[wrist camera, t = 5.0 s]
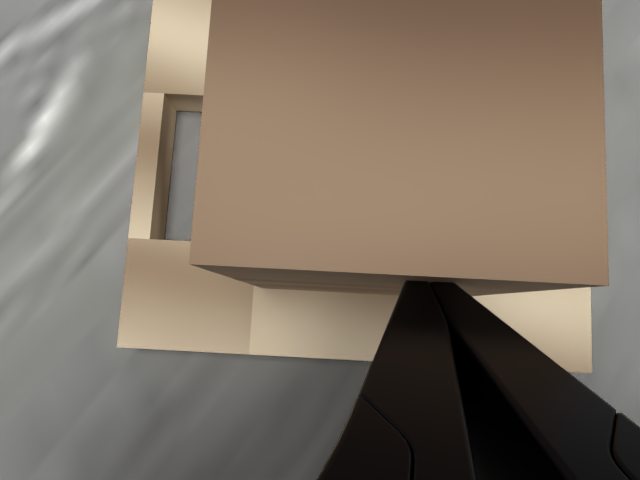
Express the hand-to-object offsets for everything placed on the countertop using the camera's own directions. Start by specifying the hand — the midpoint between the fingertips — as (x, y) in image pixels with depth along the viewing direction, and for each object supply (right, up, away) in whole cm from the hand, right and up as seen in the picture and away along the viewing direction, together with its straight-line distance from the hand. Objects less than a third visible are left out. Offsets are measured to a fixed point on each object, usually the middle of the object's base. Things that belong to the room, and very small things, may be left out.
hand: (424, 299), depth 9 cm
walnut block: (0, +3, +8) cm, 9 cm away
